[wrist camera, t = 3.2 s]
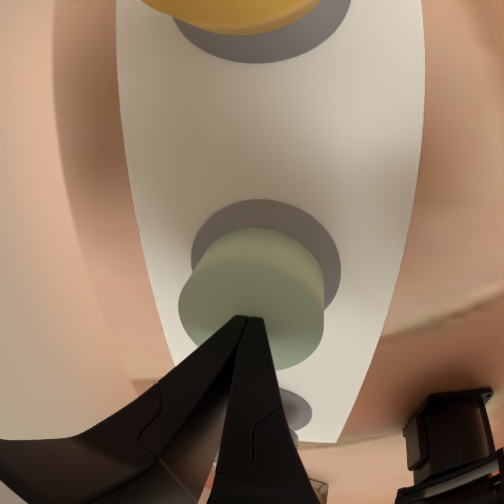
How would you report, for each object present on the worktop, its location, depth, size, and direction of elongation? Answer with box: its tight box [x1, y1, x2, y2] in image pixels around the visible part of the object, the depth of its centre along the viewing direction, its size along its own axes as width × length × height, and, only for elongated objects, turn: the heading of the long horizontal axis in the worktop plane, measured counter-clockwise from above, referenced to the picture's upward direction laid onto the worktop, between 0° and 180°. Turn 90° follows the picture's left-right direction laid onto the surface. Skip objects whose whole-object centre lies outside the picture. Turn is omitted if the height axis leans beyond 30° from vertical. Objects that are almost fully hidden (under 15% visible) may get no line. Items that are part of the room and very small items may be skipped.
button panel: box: [116, 0, 425, 443], centre depth 12 cm, size 10×28×3 cm, turn 2°
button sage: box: [178, 228, 324, 371], centre depth 10 cm, size 4×4×2 cm
